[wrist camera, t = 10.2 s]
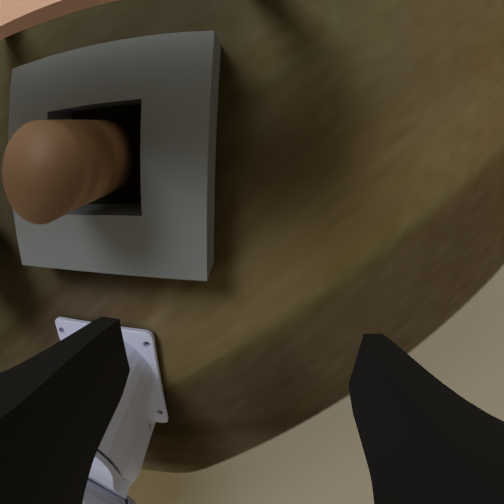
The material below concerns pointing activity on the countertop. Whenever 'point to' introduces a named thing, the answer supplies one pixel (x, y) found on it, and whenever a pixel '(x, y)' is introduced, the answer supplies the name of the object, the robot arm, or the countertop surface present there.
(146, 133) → the socket
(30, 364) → the robot arm
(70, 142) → the peg
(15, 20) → the orange bridge
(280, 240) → the countertop surface
